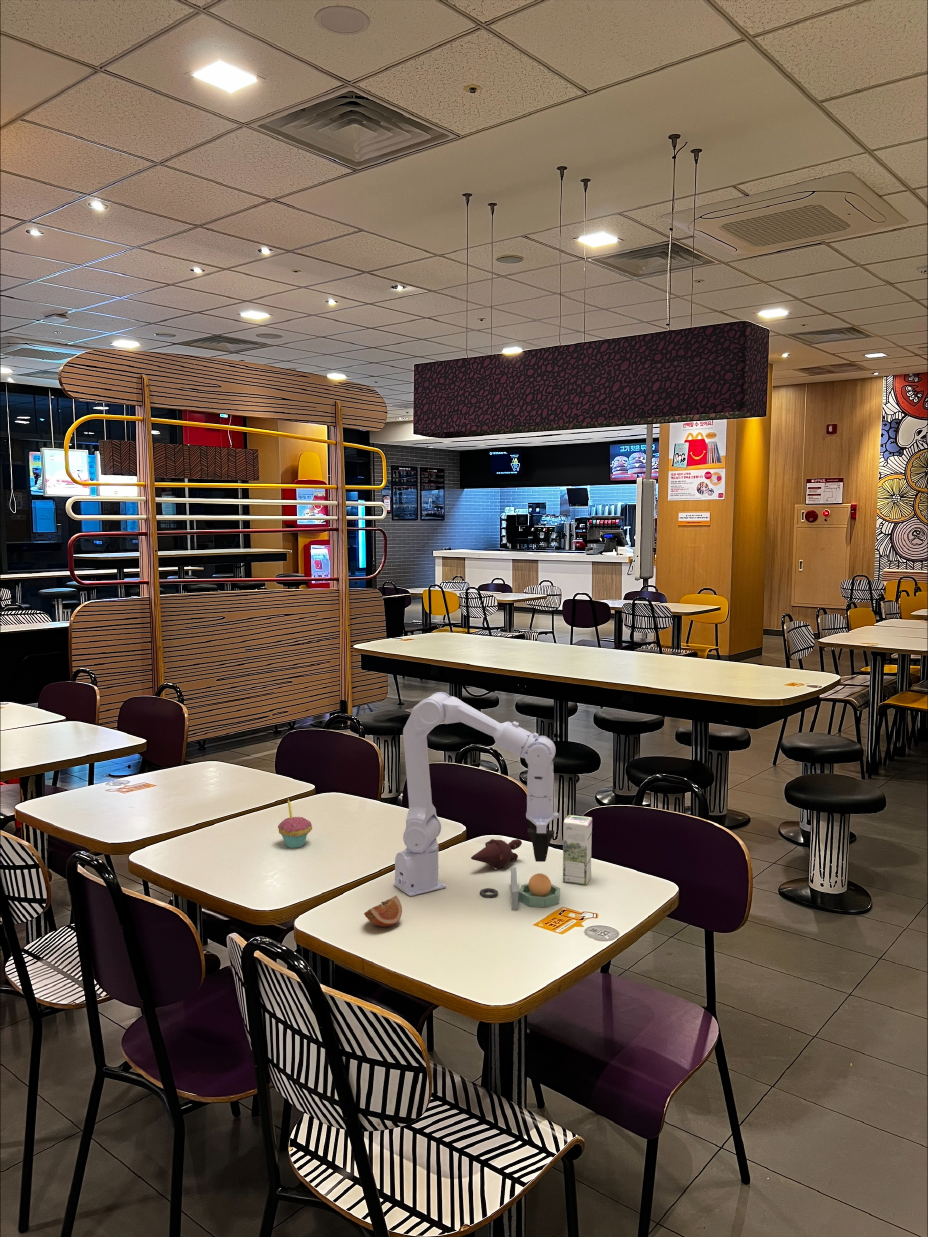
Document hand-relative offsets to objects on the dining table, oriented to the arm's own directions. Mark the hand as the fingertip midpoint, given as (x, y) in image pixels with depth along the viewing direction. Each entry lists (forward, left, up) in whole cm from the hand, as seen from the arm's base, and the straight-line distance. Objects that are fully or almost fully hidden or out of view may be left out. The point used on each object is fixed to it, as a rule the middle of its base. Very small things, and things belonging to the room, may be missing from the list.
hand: (539, 854), depth 192 cm
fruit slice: (-35, +7, -10) cm, 37 cm away
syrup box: (+14, +4, -10) cm, 18 cm away
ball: (0, 0, -7) cm, 7 cm away
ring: (-8, +8, -10) cm, 15 cm away
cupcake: (-32, +61, -10) cm, 69 cm away
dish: (0, 0, -10) cm, 10 cm away
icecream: (+3, +20, -10) cm, 23 cm away
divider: (-4, +4, -10) cm, 11 cm away
